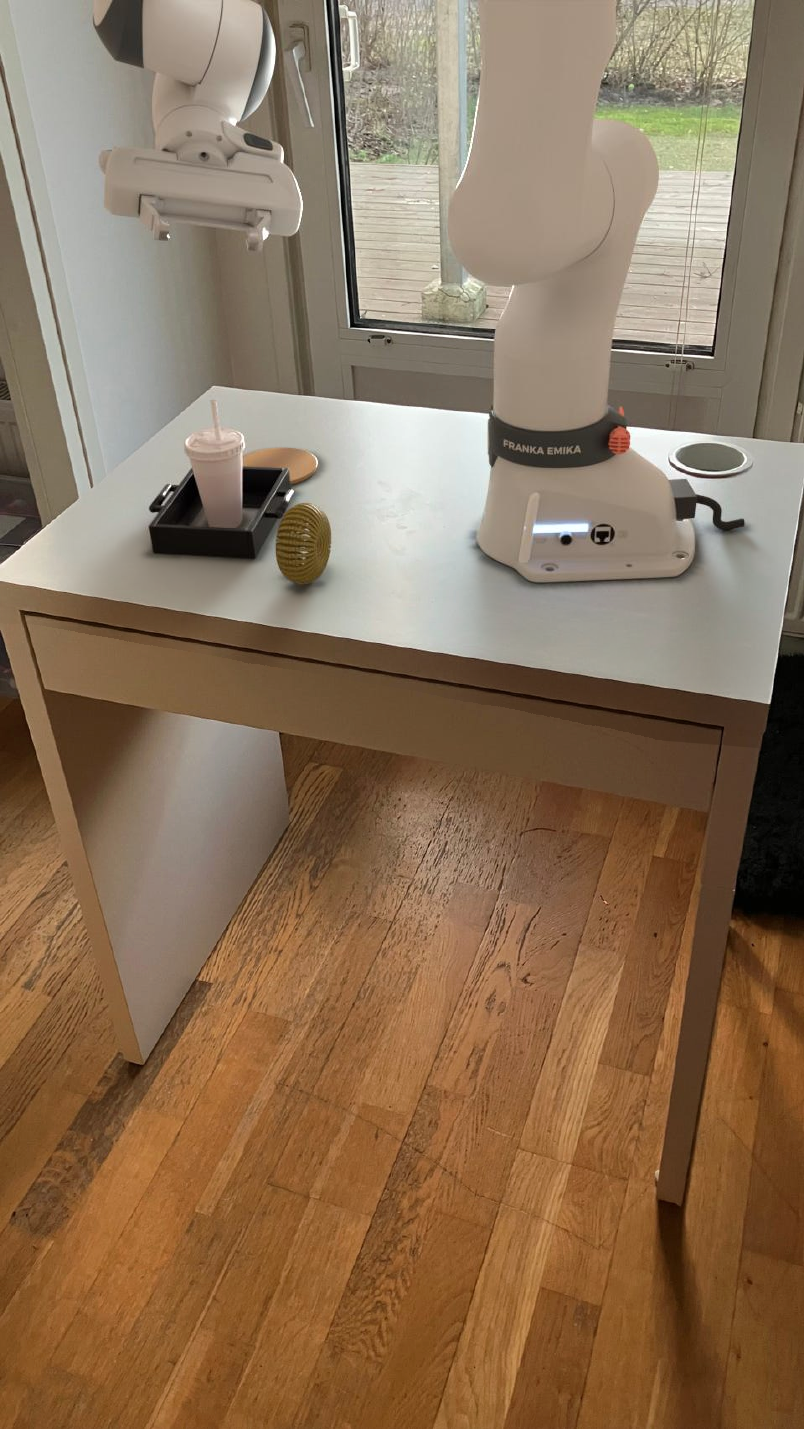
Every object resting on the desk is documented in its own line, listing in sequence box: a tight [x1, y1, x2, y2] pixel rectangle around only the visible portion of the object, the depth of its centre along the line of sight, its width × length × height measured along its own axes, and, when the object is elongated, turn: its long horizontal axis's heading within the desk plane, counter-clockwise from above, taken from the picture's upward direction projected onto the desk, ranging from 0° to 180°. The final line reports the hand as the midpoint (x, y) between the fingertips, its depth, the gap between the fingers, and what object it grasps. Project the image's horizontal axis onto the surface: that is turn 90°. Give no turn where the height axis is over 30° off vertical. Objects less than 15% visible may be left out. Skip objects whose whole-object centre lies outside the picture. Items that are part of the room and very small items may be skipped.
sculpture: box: [275, 502, 332, 585], centre depth 117 cm, size 8×4×8 cm, turn 162°
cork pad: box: [242, 447, 319, 485], centre depth 141 cm, size 10×10×1 cm
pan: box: [148, 466, 295, 560], centre depth 129 cm, size 15×15×3 cm
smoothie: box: [183, 398, 246, 528], centre depth 126 cm, size 6×6×14 cm
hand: (209, 240), depth 119 cm, fingers open, 8 cm apart
